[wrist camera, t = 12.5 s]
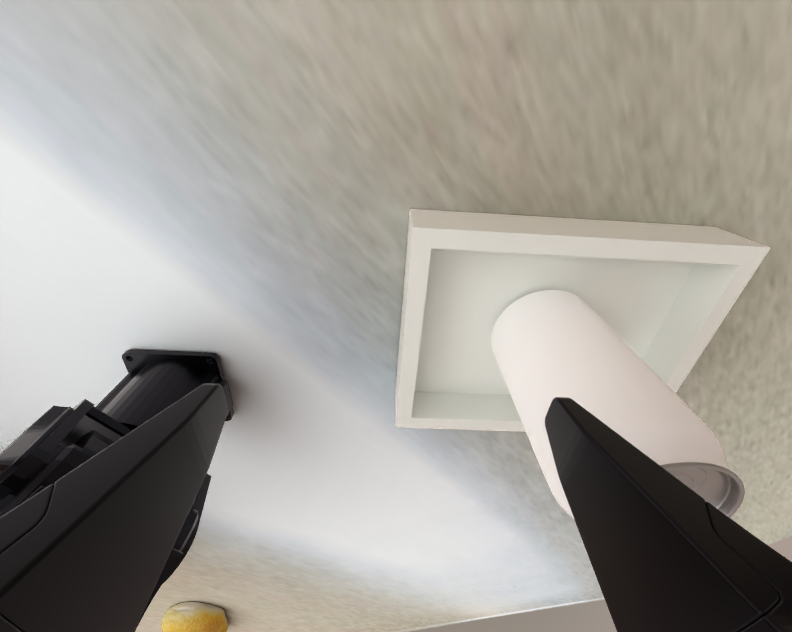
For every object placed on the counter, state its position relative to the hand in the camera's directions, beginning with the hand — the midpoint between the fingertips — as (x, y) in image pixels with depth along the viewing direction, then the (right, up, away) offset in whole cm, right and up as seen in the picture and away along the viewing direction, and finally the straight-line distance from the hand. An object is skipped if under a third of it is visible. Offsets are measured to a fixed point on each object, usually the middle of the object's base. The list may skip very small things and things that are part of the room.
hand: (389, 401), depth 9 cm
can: (+10, +2, +13) cm, 17 cm away
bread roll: (-27, -39, +39) cm, 62 cm away
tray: (+10, +2, +14) cm, 17 cm away
